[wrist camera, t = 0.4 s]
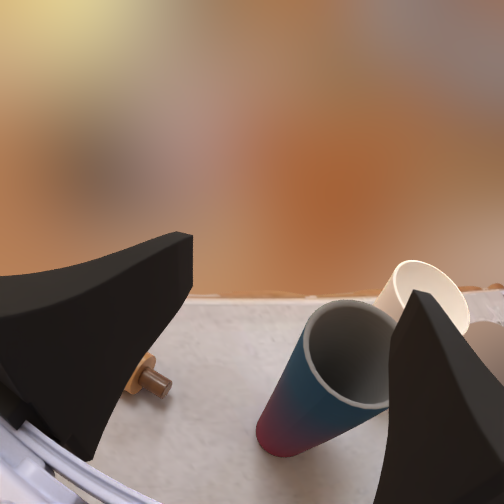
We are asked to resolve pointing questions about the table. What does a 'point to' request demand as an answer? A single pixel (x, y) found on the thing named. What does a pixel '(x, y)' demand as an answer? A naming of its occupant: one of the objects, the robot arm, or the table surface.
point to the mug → (427, 281)
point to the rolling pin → (148, 378)
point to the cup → (330, 379)
